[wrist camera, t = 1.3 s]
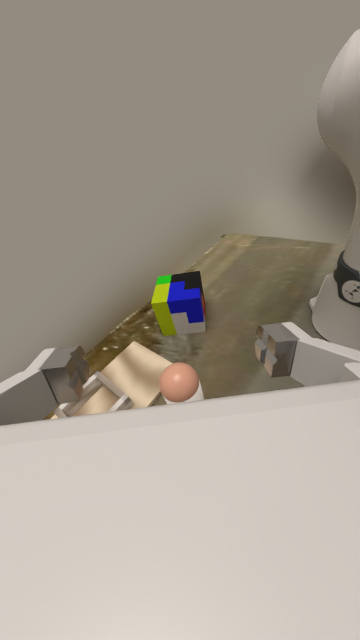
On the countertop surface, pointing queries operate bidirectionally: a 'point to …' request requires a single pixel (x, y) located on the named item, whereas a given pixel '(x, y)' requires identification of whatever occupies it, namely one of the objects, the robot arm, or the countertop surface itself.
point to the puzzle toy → (179, 304)
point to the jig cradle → (120, 384)
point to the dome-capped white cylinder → (180, 384)
